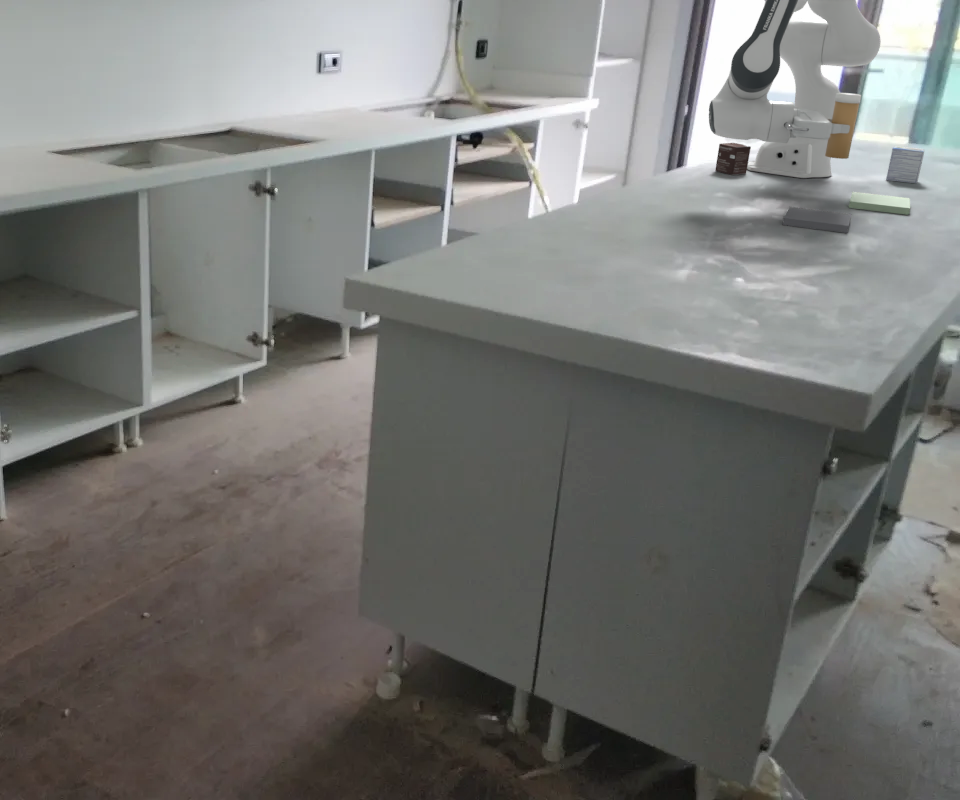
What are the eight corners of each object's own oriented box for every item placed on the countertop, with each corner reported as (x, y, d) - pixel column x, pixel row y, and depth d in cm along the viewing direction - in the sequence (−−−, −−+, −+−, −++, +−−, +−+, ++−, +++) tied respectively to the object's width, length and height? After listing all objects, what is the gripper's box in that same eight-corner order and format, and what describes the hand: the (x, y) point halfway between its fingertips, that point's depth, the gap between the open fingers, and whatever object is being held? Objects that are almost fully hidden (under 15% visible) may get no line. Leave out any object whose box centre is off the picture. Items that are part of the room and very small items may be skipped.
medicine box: (917, 181, 261) (925, 148, 258) (917, 184, 258) (924, 151, 254) (886, 178, 264) (893, 145, 261) (885, 180, 261) (892, 147, 257)
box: (714, 171, 261) (718, 143, 258) (729, 169, 264) (733, 142, 261) (731, 175, 256) (736, 147, 254) (747, 173, 260) (751, 146, 257)
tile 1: (782, 224, 204) (783, 217, 203) (788, 213, 215) (789, 206, 214) (847, 233, 200) (848, 225, 199) (850, 220, 211) (851, 214, 210)
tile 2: (848, 207, 224) (849, 201, 223) (851, 197, 235) (852, 191, 234) (908, 214, 220) (910, 208, 219) (908, 204, 231) (909, 198, 230)
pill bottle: (824, 157, 215) (835, 94, 210) (825, 153, 220) (836, 92, 214) (848, 159, 214) (861, 96, 208) (849, 156, 218) (861, 94, 213)
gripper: (789, 113, 205) (857, 118, 203) (780, 102, 224) (842, 107, 222) (784, 143, 208) (851, 148, 206) (775, 130, 226) (837, 135, 224)
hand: (846, 127), depth 214 cm, fingers closed on pill bottle, 5 cm apart
